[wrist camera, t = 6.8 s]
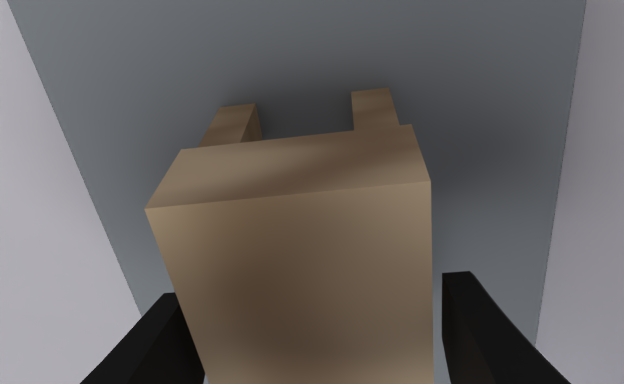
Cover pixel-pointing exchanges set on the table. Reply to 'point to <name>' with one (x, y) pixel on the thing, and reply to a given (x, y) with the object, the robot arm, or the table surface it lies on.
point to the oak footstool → (303, 250)
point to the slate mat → (325, 111)
